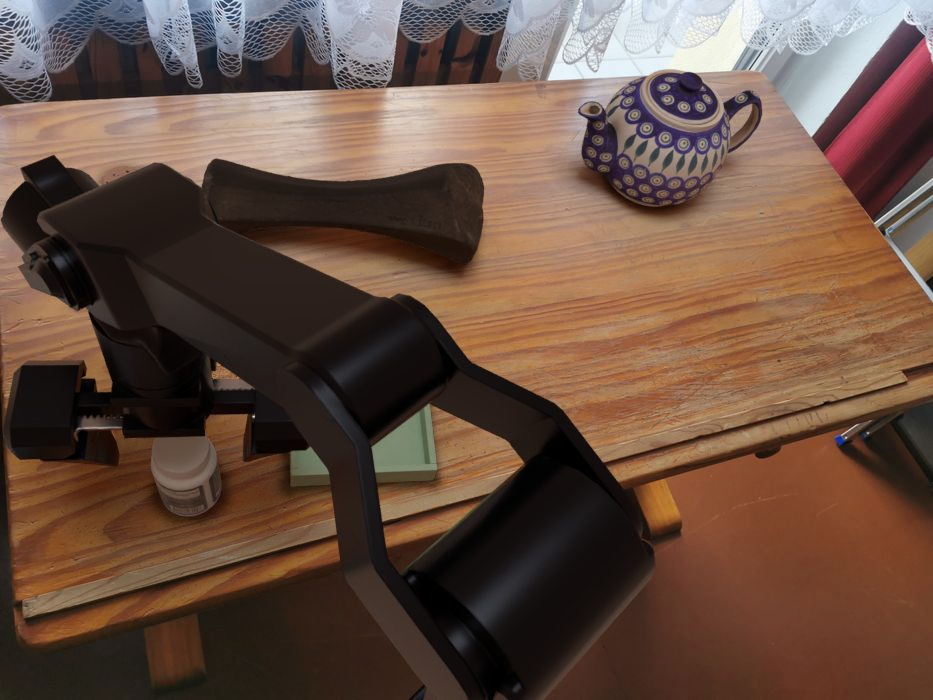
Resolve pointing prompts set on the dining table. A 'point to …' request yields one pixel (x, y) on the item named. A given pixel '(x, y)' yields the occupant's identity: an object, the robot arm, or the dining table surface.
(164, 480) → the pill bottle
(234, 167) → the dark brown bone
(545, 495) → the robot arm
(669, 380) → the dining table surface
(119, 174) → the cookie
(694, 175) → the teapot
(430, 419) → the tray
